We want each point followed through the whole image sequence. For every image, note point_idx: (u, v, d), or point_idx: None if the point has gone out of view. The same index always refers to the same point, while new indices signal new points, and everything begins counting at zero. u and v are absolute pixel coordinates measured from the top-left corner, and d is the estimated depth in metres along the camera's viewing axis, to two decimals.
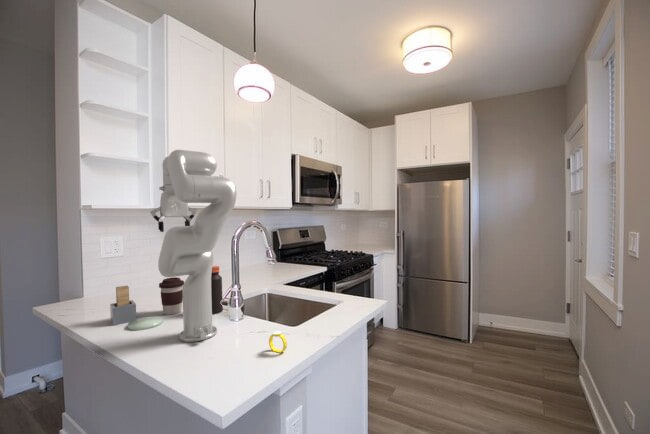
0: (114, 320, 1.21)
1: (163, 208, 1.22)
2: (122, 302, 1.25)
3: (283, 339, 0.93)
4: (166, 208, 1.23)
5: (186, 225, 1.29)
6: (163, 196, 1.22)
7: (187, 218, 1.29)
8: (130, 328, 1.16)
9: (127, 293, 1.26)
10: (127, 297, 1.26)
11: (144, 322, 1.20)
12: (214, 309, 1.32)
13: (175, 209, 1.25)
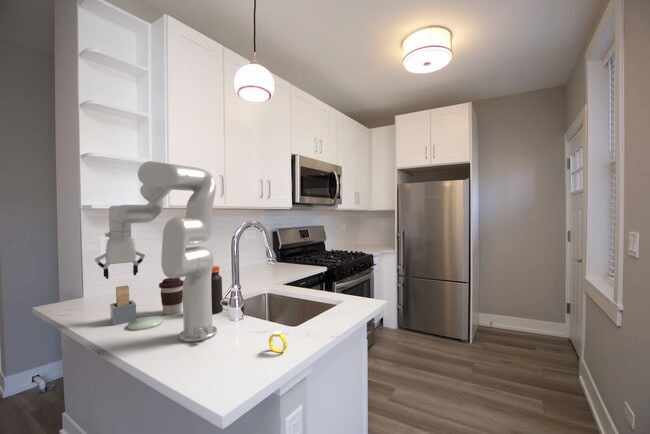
0: (114, 320, 1.21)
1: (108, 255, 1.21)
2: (122, 302, 1.25)
3: (283, 339, 0.93)
4: (111, 255, 1.22)
5: (134, 270, 1.29)
6: (108, 243, 1.22)
7: (135, 263, 1.29)
8: (130, 328, 1.16)
9: (127, 293, 1.26)
10: (127, 297, 1.26)
11: (144, 322, 1.20)
12: (214, 309, 1.32)
13: (121, 255, 1.24)
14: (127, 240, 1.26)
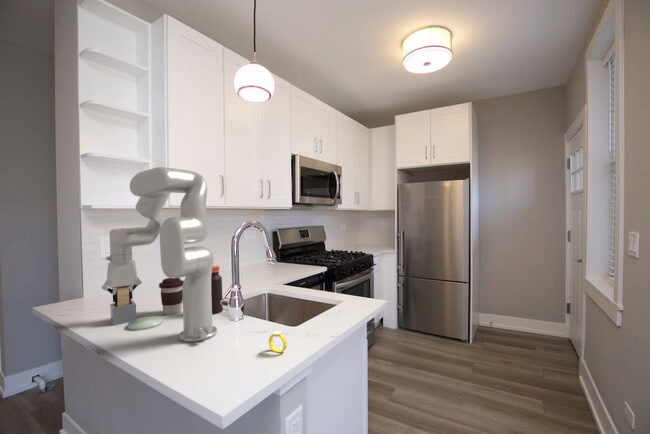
0: (114, 320, 1.21)
1: (109, 279, 1.21)
2: (122, 302, 1.25)
3: (283, 339, 0.93)
4: (112, 279, 1.22)
5: None
6: (109, 267, 1.22)
7: (130, 288, 1.27)
8: (130, 328, 1.16)
9: (127, 293, 1.26)
10: (127, 297, 1.26)
11: (144, 322, 1.20)
12: (214, 309, 1.32)
13: (122, 279, 1.24)
14: (128, 263, 1.26)
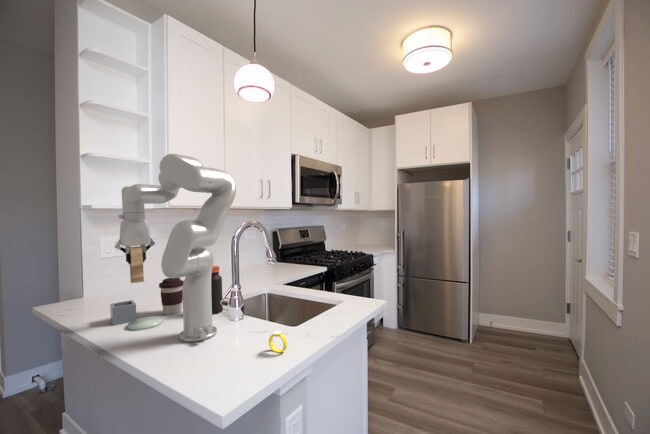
0: (114, 320, 1.21)
1: (122, 237, 1.18)
2: (135, 262, 1.21)
3: (283, 339, 0.93)
4: (125, 237, 1.18)
5: None
6: (122, 225, 1.18)
7: (143, 248, 1.23)
8: (130, 328, 1.16)
9: (140, 253, 1.22)
10: (141, 257, 1.22)
11: (144, 322, 1.20)
12: (214, 309, 1.32)
13: (135, 237, 1.20)
14: (141, 222, 1.22)
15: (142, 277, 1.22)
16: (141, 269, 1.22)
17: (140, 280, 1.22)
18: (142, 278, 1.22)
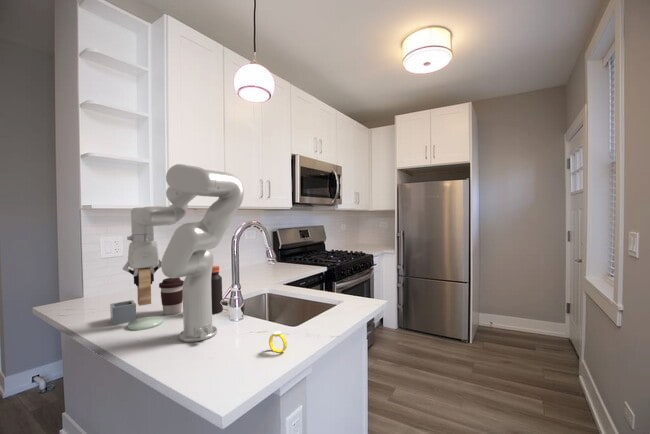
0: (114, 320, 1.21)
1: (131, 260, 1.16)
2: (143, 284, 1.19)
3: (283, 339, 0.93)
4: (134, 259, 1.17)
5: None
6: (131, 247, 1.17)
7: (151, 270, 1.22)
8: (130, 328, 1.16)
9: (149, 275, 1.21)
10: (148, 279, 1.21)
11: (144, 322, 1.20)
12: (214, 309, 1.32)
13: (144, 260, 1.19)
14: (150, 243, 1.20)
15: (149, 299, 1.21)
16: (149, 291, 1.21)
17: (147, 302, 1.20)
18: (149, 301, 1.21)
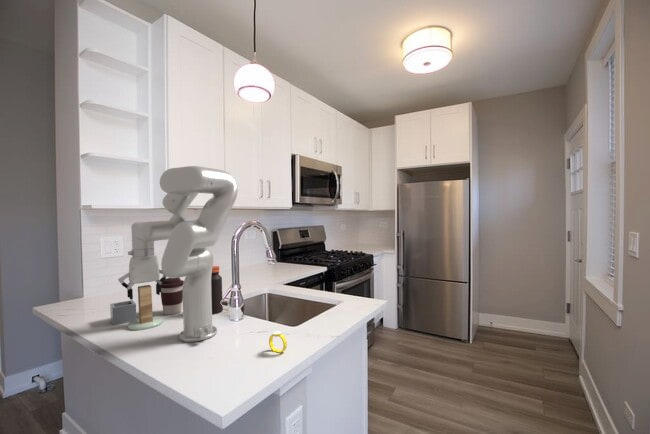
0: (114, 320, 1.21)
1: (131, 275, 1.16)
2: (145, 302, 1.19)
3: (283, 339, 0.93)
4: (135, 274, 1.17)
5: (157, 289, 1.23)
6: (131, 262, 1.17)
7: (158, 282, 1.23)
8: (130, 328, 1.16)
9: (150, 293, 1.21)
10: (150, 297, 1.21)
11: None
12: (214, 309, 1.32)
13: (145, 274, 1.19)
14: (151, 258, 1.20)
15: (151, 317, 1.21)
16: (150, 309, 1.21)
17: (149, 320, 1.20)
18: (151, 318, 1.21)
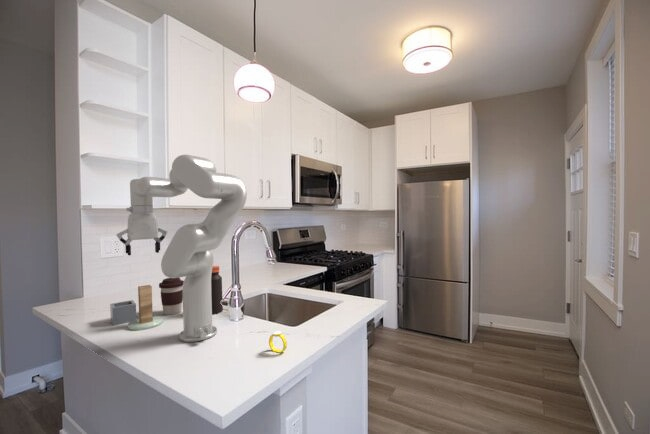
0: (114, 320, 1.21)
1: (130, 230, 1.16)
2: (145, 302, 1.19)
3: (283, 339, 0.93)
4: (133, 230, 1.16)
5: (156, 247, 1.23)
6: (130, 218, 1.16)
7: (157, 240, 1.23)
8: (130, 328, 1.16)
9: (150, 293, 1.21)
10: (150, 297, 1.21)
11: None
12: (214, 309, 1.32)
13: (143, 231, 1.19)
14: (149, 215, 1.20)
15: (151, 317, 1.21)
16: (150, 309, 1.21)
17: (149, 320, 1.20)
18: (151, 318, 1.21)
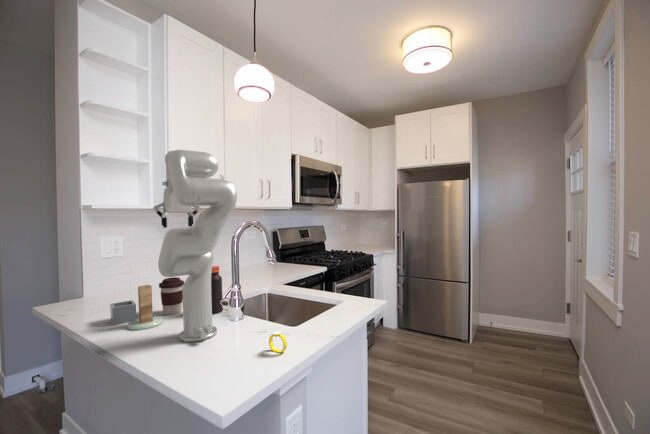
0: (114, 320, 1.21)
1: (166, 203, 1.21)
2: (145, 302, 1.19)
3: (283, 339, 0.93)
4: (169, 203, 1.21)
5: (189, 221, 1.28)
6: (166, 191, 1.21)
7: (190, 214, 1.28)
8: (130, 328, 1.16)
9: (150, 293, 1.21)
10: (150, 297, 1.21)
11: None
12: (214, 309, 1.32)
13: (178, 204, 1.23)
14: None
15: (151, 317, 1.21)
16: (150, 309, 1.21)
17: (149, 320, 1.20)
18: (151, 318, 1.21)
